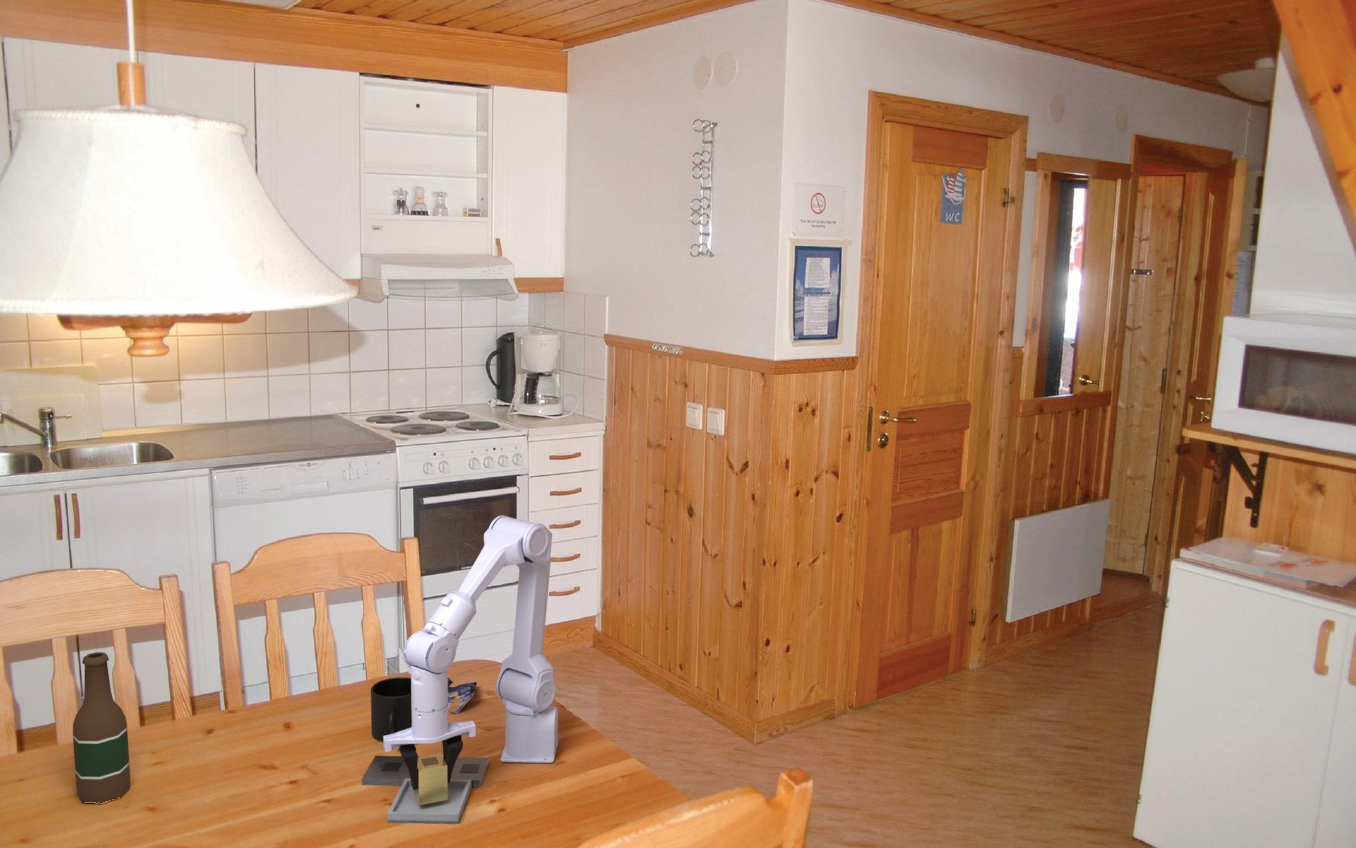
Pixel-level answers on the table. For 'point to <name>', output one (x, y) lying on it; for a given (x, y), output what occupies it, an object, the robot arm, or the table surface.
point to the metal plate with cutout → (396, 771)
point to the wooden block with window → (431, 779)
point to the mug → (390, 706)
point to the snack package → (461, 694)
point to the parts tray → (430, 805)
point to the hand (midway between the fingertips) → (430, 783)
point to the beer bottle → (100, 737)
